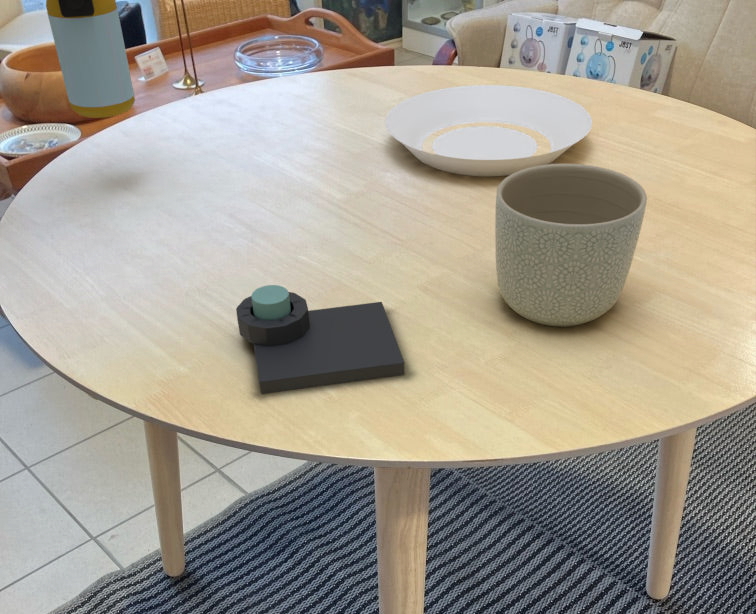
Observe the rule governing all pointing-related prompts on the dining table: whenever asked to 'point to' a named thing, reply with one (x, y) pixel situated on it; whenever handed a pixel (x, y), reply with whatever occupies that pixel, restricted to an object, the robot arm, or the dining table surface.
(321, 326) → the scale
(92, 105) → the bottle
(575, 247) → the planter
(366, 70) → the dining table surface
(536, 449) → the dining table surface
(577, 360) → the dining table surface
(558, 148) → the bowl
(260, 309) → the button
